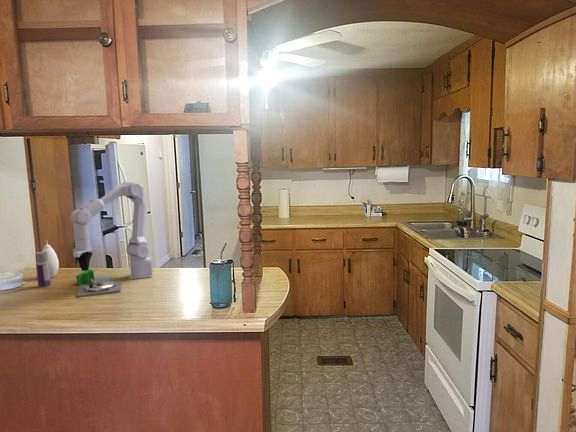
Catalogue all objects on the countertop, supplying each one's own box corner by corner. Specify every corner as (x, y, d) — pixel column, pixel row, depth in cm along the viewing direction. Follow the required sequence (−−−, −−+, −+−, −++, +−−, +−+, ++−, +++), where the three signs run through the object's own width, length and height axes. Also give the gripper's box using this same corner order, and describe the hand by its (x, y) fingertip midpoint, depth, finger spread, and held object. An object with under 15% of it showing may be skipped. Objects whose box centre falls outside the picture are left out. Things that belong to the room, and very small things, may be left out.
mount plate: (120, 282, 181) (120, 280, 181) (120, 292, 167) (120, 290, 167) (80, 287, 175) (80, 285, 175) (77, 297, 162) (76, 295, 161)
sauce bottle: (43, 276, 194) (39, 238, 192) (61, 274, 196) (58, 237, 194) (38, 280, 187) (34, 242, 184) (57, 278, 189) (54, 240, 187)
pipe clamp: (86, 285, 177) (84, 275, 177) (77, 286, 177) (75, 275, 177) (98, 277, 189) (96, 268, 188) (90, 278, 189) (88, 268, 188)
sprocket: (102, 281, 180) (102, 271, 179) (122, 284, 174) (121, 274, 173) (76, 289, 169) (75, 278, 168) (96, 293, 163) (95, 282, 162)
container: (35, 287, 176) (32, 253, 174) (45, 284, 181) (42, 251, 179) (43, 288, 175) (39, 254, 173) (53, 285, 179) (49, 251, 177)
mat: (111, 276, 192) (111, 275, 192) (110, 283, 180) (110, 283, 180) (95, 278, 190) (95, 277, 189) (93, 285, 178) (92, 285, 178)
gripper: (79, 235, 175) (82, 266, 177) (64, 242, 161) (67, 275, 163) (96, 235, 176) (99, 265, 178) (82, 241, 162) (85, 274, 163)
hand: (85, 270), depth 170 cm, fingers closed
